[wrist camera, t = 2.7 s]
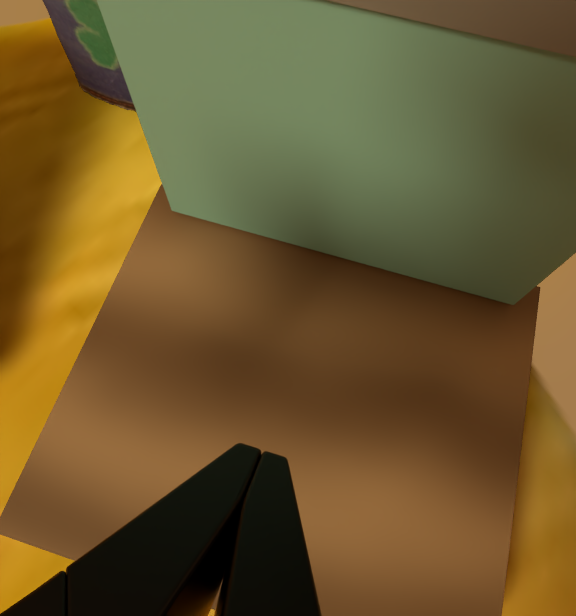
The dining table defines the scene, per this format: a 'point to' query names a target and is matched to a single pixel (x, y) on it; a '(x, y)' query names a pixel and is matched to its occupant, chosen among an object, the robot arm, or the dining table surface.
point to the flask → (90, 50)
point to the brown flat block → (297, 412)
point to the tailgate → (367, 127)
